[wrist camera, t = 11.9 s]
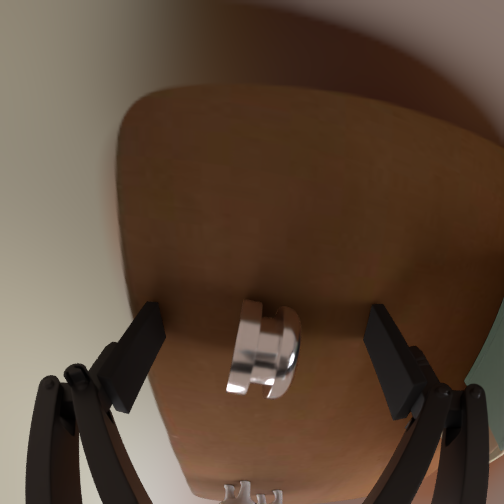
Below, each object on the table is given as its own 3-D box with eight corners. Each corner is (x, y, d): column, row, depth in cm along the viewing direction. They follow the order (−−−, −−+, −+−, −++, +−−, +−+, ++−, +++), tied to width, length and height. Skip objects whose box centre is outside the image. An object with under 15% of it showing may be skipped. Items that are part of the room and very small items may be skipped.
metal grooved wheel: (247, 282, 15) (236, 341, 10) (299, 291, 15) (310, 352, 10) (233, 348, 17) (222, 410, 12) (279, 356, 17) (279, 418, 12)
